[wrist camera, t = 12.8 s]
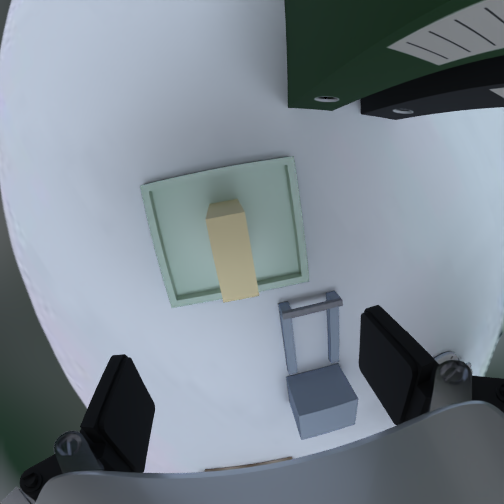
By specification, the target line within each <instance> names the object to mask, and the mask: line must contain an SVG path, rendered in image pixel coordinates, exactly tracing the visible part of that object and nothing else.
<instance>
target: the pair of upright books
mask: <svg viewBox="0 0 504 504" xmlns="http://www.w3.org/2000/svg"><path fill="white" fill-rule="evenodd" d="M285 18H286V41H287V74H288V108H304V109H318V110H329V111H333V110H335V109H337V108H340V107H342V106H344V105H347V104H349V103H351V102H354V101H356V100H359V99H361V114H363V115H370V116H377V117H383V118H389V119H394V120H398V119H403V118H409V117H415V116H422V115H428V114H435V113H443V112H451V111H460V110H470V109H481V108H495V107H504V0H285ZM318 97H328V99H320V98H318Z"/></svg>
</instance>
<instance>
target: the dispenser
mask: <svg viewBox="0 0 504 504" xmlns="http://www.w3.org/2000/svg"><path fill="white" fill-rule="evenodd" d="M326 299H327V300H326V301H325V302H321V303H317V304H313V305H308V306H304V307H300V308H295V309H291V307H290V305H289V303H288V302H284V303H280V304H278V305H279V310H280V311H279V312H280V319H281V326H282V333H283V341H284V348H285V355H286V363H287V370H288V373H289V374H293V373H297V363H296V354H295V344H294V336H293V327H292V318H294V317H298V316H302V315H307V314H311V313H315V312H319V311H323V310H327V323H328V356H329V360H330V362H331V364H332V363H335V362H338V361H339V306H343V303H342V299H341V298H340V296H339V295H338V294H337V293H336V292H335V291H332V292H328V293H326ZM286 378H287V386H288V393H289V401H290V405H291V408H292V411H293V415H294V418H295V421H296V424H297V428H298V431H299V434H300V437H301V440H303V439H307V438H311V437H315V436H318V435H322V434H325V433H329V432H332V431H335V430H339V429H342V428H345V427H348V426H351V425H354V424H355V420H356V413H357V405H358V397H357V396H356V394H355V392H354V390H353V389H352V387H351V385H350V383H349V382H348V380H347V378H346V376H345V375H344V373H343V371H342V369H341V368H340V366H339V364H334V365H331V366H327V367H324V368H320V369H316V370H312V371H309V372H305V373H301V374H297V375H292V376H288V377H286Z"/></svg>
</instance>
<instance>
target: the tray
mask: <svg viewBox="0 0 504 504" xmlns="http://www.w3.org/2000/svg"><path fill="white" fill-rule="evenodd" d="M140 188H141V193H142V198H143V202H144V207H145V211H146V216H147V220H148V224H149V228H150V232H151V236H152V240H153V244H154V248H155V252H156V256H157V259H158V263H159V267H160V270H161V274H162V277H163V281H164V284H165V287H166V291H167V294H168V297H169V300H170V304H171V307H172V308H175V307H181V306H186V305H192V304H198V303H203V302H209V301H214V300H220V299H223V298H222V294H221V290H220V285H219V281H218V276H217V272H216V267H215V263H214V258H213V254H212V249H211V244H210V240H209V235H208V230H207V225H206V220H205V219H206V215H207V211H208V208H209V204H212V203H217V202H222V201H228V200H233V199H238V201H239V202H240V204H241V206H242V208H243V210H244V211H245V216H246V221H247V227H248V233H249V239H250V244H251V250H252V256H253V262H254V268H255V273H256V279H257V285H258V291H259V292H261V291H266V290H271V289H276V288H281V287H285V286H290V285H295V284H299V283H304V282H308V281H309V272H308V262H307V253H306V244H305V235H304V227H303V219H302V211H301V203H300V196H299V189H298V182H297V175H296V168H295V162H294V156H292V157H284V158H277V159H270V160H263V161H257V162H251V163H245V164H239V165H233V166H228V167H222V168H217V169H212V170H207V171H202V172H197V173H192V174H188V175H183V176H178V177H174V178H170V179H165V180H161V181H157V182H153V183H149V184H145V185H141V186H140Z"/></svg>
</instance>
